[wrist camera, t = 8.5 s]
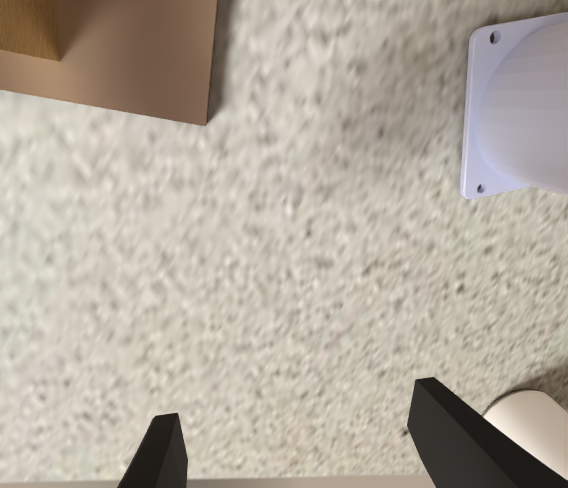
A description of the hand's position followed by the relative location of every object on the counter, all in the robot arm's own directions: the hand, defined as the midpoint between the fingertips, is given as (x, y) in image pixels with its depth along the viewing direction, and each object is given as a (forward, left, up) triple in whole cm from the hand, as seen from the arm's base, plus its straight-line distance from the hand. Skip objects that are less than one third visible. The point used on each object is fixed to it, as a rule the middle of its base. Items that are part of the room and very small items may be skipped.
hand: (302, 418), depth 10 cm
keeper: (+7, -16, -9) cm, 20 cm away
